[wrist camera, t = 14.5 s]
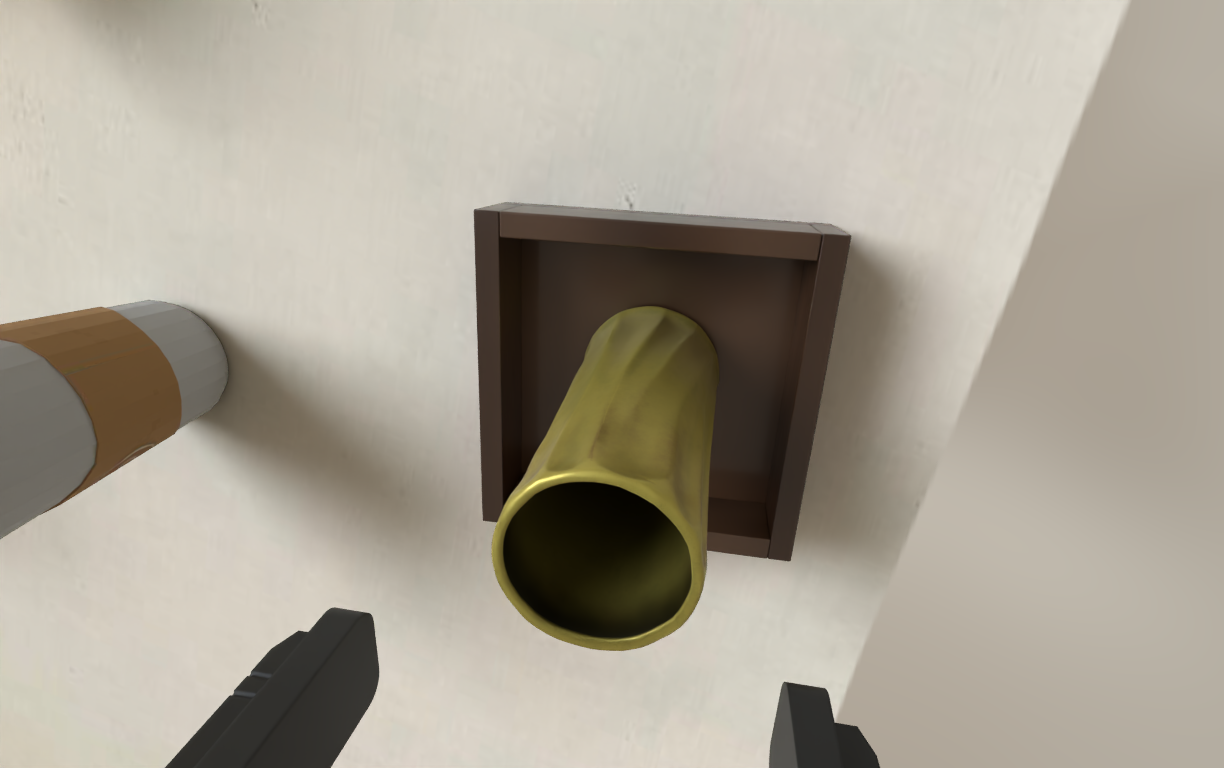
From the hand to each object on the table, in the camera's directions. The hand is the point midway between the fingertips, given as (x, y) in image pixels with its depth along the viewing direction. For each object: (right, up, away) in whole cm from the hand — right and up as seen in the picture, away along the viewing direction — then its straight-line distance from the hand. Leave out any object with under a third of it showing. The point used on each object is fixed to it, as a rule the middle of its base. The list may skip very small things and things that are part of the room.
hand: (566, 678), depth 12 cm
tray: (+3, +6, +17) cm, 18 cm away
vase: (+3, +6, +16) cm, 18 cm away
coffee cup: (-22, +7, +21) cm, 31 cm away
